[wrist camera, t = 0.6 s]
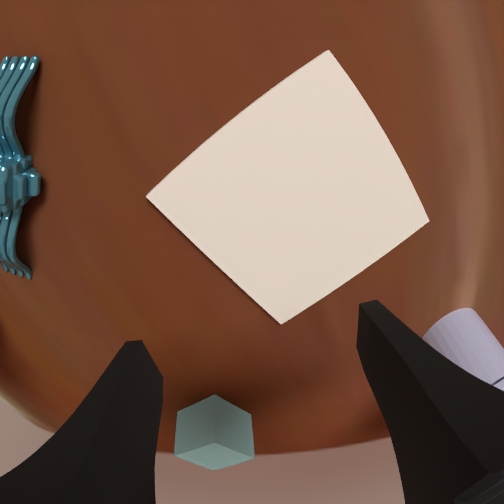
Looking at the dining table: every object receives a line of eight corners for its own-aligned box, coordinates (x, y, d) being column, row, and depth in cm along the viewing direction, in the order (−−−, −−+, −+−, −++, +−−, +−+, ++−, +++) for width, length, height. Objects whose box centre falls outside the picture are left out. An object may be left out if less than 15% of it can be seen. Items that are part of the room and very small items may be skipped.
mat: (426, 218, 18) (429, 220, 18) (280, 320, 21) (281, 324, 21) (326, 50, 13) (328, 49, 13) (147, 193, 16) (145, 196, 16)
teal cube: (251, 413, 28) (254, 458, 23) (213, 429, 29) (214, 470, 25) (214, 393, 26) (214, 442, 21) (177, 410, 27) (173, 455, 23)
